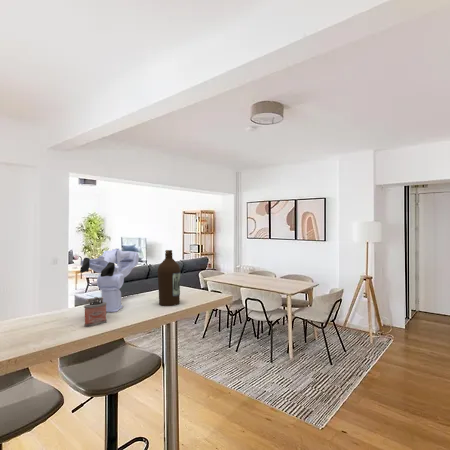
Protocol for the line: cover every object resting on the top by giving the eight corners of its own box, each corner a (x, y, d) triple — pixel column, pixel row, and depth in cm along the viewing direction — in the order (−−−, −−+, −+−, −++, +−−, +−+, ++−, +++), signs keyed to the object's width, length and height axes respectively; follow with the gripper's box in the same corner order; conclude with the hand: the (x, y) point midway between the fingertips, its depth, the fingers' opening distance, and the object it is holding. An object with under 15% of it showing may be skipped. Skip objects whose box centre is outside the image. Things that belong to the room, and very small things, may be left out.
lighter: (104, 321, 122) (104, 294, 122) (108, 322, 120) (107, 296, 120) (82, 325, 116) (82, 298, 116) (86, 327, 114) (86, 299, 114)
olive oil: (153, 305, 145) (152, 251, 145) (165, 300, 155) (164, 249, 155) (174, 307, 142) (173, 251, 142) (184, 301, 152) (184, 249, 152)
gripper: (88, 249, 131) (73, 258, 118) (123, 256, 132) (112, 265, 119) (86, 265, 132) (71, 275, 119) (120, 272, 133) (109, 283, 120)
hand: (91, 272), depth 119 cm, fingers open, 7 cm apart
